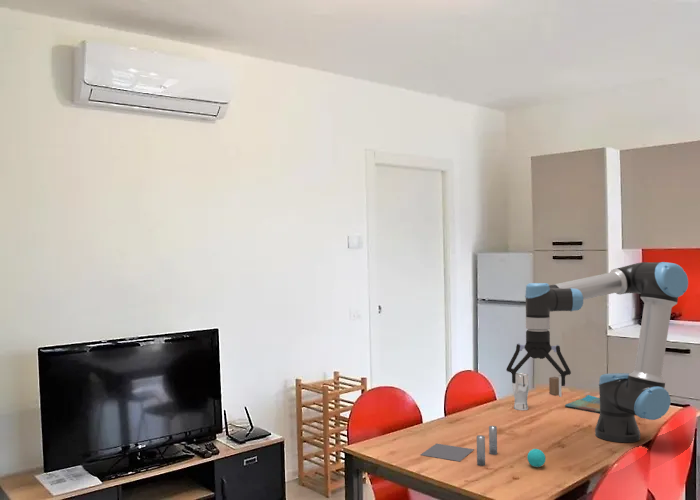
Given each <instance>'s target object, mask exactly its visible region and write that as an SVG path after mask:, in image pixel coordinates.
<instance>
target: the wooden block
mask: <svg viewBox="0 0 700 500" xmlns="http://www.w3.org/2000/svg"><path fill="white" fill-rule="evenodd" d="M548 382H549V385H548V386H549V389H548V391H549V395H553V396H559V376H558V377H557V376H551V377H549V378H548Z"/></svg>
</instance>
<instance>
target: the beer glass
mask: <svg viewBox="0 0 700 500" xmlns="http://www.w3.org/2000/svg"><path fill="white" fill-rule="evenodd" d="M517 373H518V394H516V383H512V382H511V384H512V392H513V397H514V403H513V404H514V405H513V409H514V410H516V411H528V410H529V406H528V404H529V403H528V395H529V390H530V389H529V388H530V382H529V381H530V380H529V374H528V373H525V372H524V373H523V372H517Z"/></svg>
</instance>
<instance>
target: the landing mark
mask: <svg viewBox="0 0 700 500" xmlns="http://www.w3.org/2000/svg"><path fill="white" fill-rule="evenodd" d="M473 451H475V449H474V448H467V447H463V446H455V445H449V444H442V443H435V444H433V445H432V446H431V447H429V448H428V449H426V450H425V451H423V452H422V453H420V454H419V455H420V456H421V457H422V456H424V457H429V458H435V459H441V460H447V461H453V462H458V463H459V462H462V461H463V460H464V459H465V458H466V457H467V456H469V454H471V453H472V452H473Z"/></svg>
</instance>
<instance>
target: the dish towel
mask: <svg viewBox="0 0 700 500" xmlns="http://www.w3.org/2000/svg"><path fill="white" fill-rule="evenodd" d="M564 408H566V409H571V410H575V411H576V410H577V411H584V412H590V413H595V414H599V415H600V397H597V396H593V395H589V394H588V395H585V397H583V398H580V399H576V400H573V401H571V402H569V403H566V404H565V405H564Z"/></svg>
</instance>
